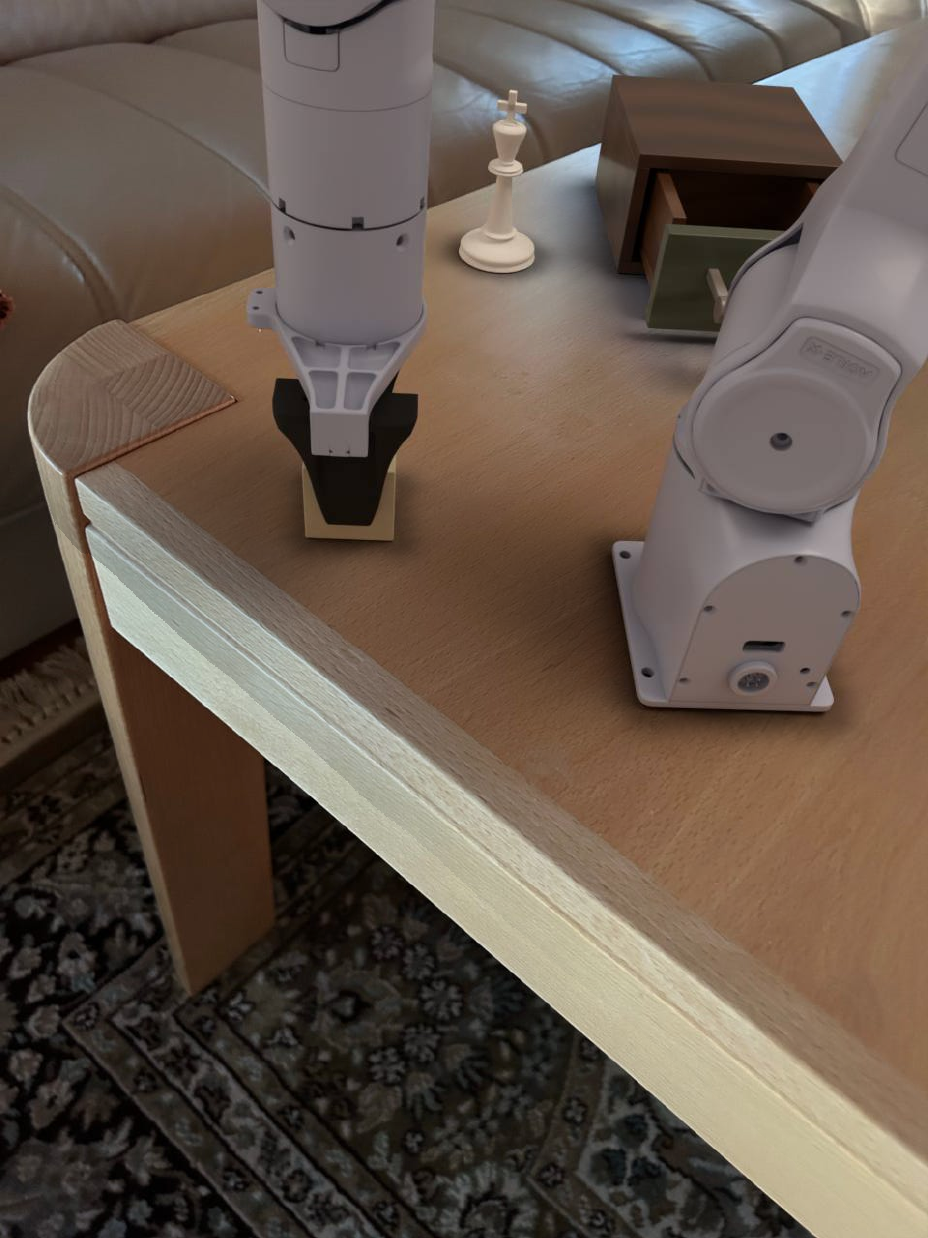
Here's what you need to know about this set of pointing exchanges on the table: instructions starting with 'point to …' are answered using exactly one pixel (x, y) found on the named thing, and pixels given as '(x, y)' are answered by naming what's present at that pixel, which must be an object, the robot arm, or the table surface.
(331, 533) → the block
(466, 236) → the chess piece
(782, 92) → the cabinet
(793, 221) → the drawer
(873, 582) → the table surface
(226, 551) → the table surface
